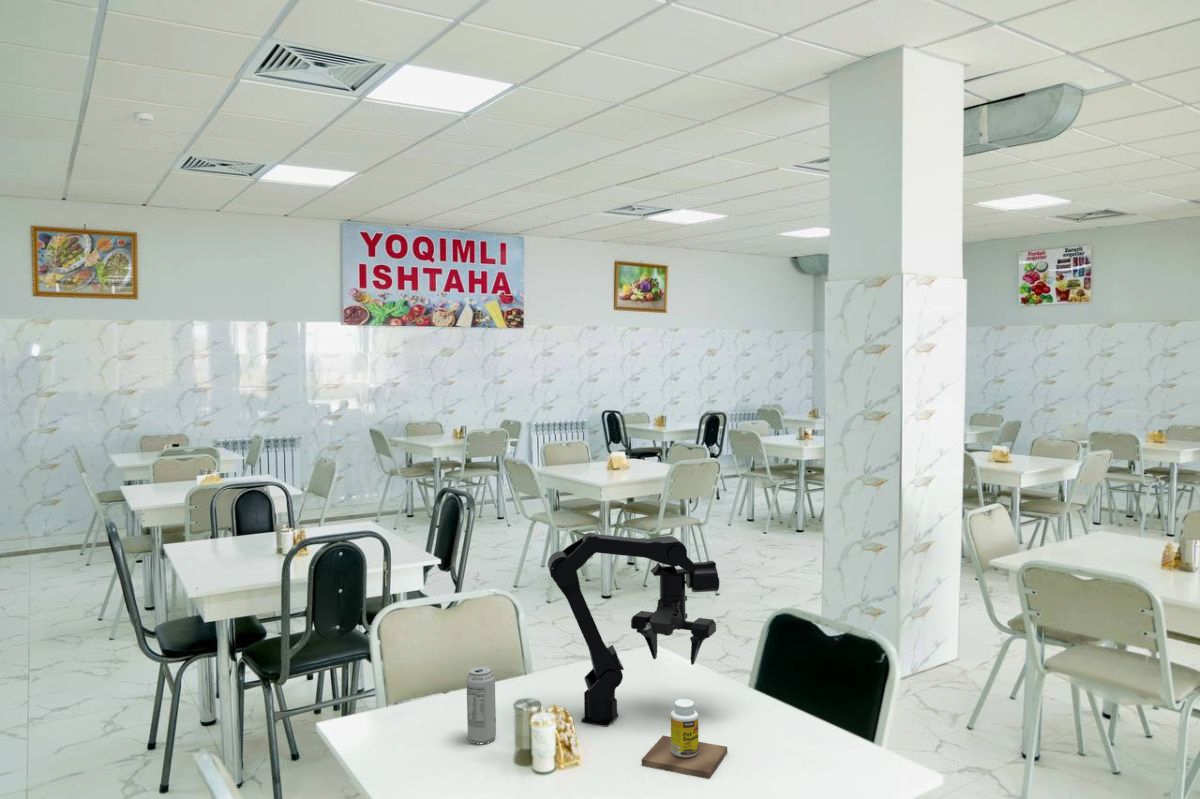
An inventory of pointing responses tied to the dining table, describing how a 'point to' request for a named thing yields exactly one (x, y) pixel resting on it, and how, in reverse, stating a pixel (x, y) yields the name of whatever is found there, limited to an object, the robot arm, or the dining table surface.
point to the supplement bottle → (684, 729)
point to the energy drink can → (481, 704)
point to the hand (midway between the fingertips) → (673, 661)
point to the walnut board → (696, 765)
